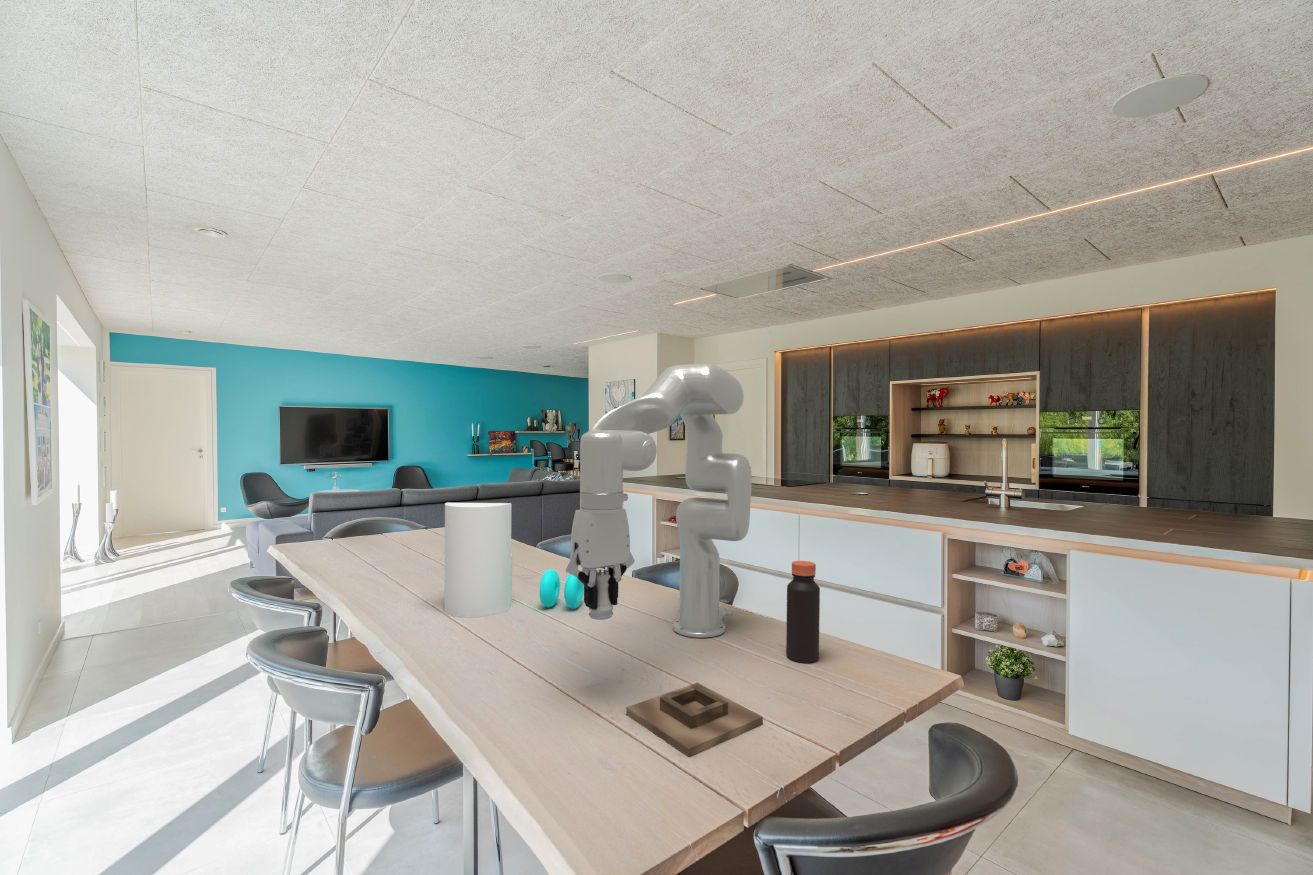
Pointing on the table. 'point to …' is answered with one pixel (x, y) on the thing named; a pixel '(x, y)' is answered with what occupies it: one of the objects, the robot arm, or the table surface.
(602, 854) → the table surface
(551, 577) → the donuts
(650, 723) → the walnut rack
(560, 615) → the table surface
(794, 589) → the bottle
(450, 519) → the cylinder
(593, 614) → the rook chess piece
